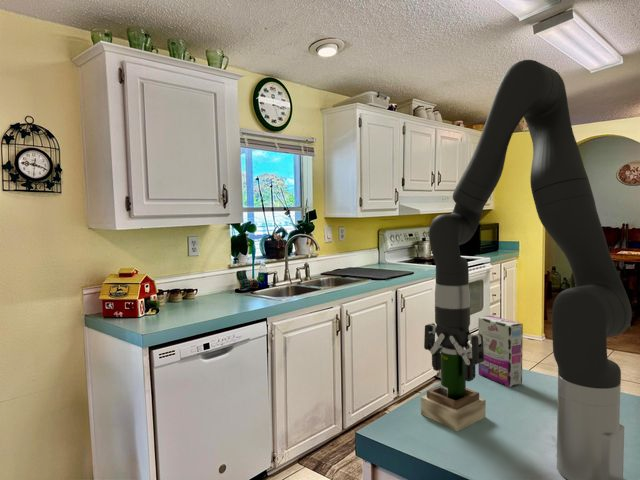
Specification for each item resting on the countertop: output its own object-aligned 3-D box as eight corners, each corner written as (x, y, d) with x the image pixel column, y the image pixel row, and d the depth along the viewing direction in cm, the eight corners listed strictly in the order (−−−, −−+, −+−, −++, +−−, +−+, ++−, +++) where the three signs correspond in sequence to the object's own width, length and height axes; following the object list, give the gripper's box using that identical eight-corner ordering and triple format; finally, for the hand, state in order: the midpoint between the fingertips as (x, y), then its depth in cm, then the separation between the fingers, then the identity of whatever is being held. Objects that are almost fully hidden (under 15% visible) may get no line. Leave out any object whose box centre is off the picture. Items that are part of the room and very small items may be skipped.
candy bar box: (523, 384, 115) (524, 323, 114) (509, 388, 113) (510, 326, 112) (490, 370, 125) (490, 314, 124) (477, 374, 123) (477, 316, 122)
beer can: (454, 405, 95) (454, 351, 94) (435, 397, 100) (435, 345, 99) (470, 399, 98) (470, 347, 97) (451, 391, 103) (451, 341, 102)
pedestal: (485, 417, 98) (485, 393, 98) (457, 431, 92) (457, 405, 92) (448, 401, 106) (448, 379, 106) (420, 414, 100) (420, 390, 100)
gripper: (490, 306, 94) (491, 380, 95) (437, 296, 105) (437, 362, 106) (469, 311, 89) (470, 389, 90) (416, 301, 101) (417, 370, 102)
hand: (452, 374), depth 98 cm, fingers open, 8 cm apart
